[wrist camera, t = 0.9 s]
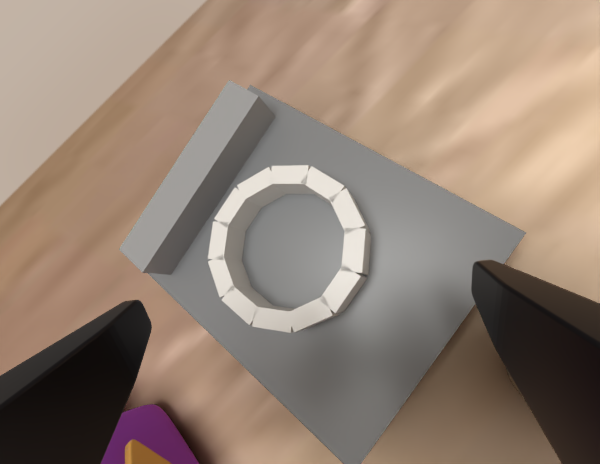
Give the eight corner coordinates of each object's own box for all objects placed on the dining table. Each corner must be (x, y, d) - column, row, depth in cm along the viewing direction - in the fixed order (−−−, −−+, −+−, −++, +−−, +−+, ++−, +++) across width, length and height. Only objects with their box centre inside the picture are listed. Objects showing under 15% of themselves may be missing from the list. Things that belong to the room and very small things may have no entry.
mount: (510, 241, 19) (543, 222, 14) (363, 447, 19) (343, 501, 14) (269, 108, 25) (231, 61, 20) (166, 264, 26) (104, 257, 21)
